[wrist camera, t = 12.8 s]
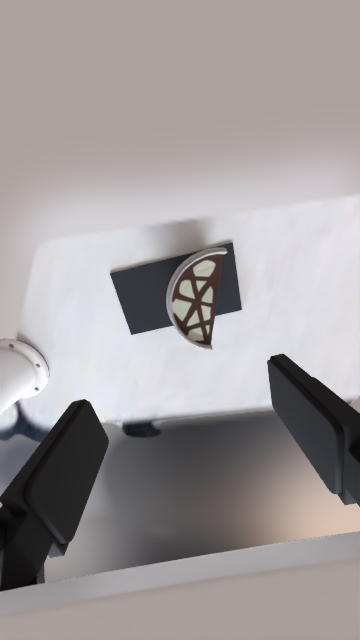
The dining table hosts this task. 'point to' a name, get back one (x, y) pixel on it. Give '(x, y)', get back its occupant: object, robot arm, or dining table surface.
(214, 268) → the food container
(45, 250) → the dining table surface
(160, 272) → the mat
